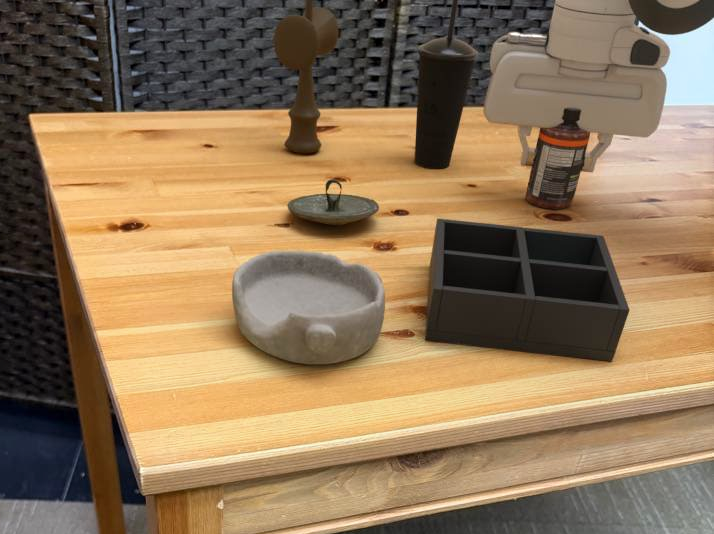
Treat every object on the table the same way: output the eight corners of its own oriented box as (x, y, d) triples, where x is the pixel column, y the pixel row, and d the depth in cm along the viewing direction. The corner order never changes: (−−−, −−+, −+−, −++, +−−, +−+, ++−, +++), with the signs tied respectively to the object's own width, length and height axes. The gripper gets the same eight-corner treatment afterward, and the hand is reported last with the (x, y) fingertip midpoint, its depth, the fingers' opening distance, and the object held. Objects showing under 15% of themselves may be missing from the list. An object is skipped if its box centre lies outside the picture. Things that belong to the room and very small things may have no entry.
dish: (339, 387, 67) (344, 332, 64) (200, 340, 72) (198, 286, 68) (410, 320, 77) (417, 269, 73) (283, 282, 81) (285, 233, 78)
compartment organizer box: (589, 282, 85) (603, 235, 82) (612, 361, 73) (629, 309, 69) (429, 265, 86) (437, 218, 83) (425, 340, 74) (433, 288, 71)
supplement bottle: (530, 190, 106) (552, 94, 98) (576, 199, 104) (602, 102, 97) (518, 204, 102) (540, 104, 94) (565, 214, 100) (592, 113, 92)
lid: (333, 257, 90) (348, 216, 86) (267, 211, 92) (278, 169, 89) (384, 235, 97) (399, 195, 93) (321, 192, 99) (333, 152, 96)
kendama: (269, 156, 110) (273, -21, 97) (294, 137, 117) (301, -30, 104) (311, 163, 109) (320, -15, 96) (334, 144, 116) (345, -25, 103)
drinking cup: (411, 151, 116) (433, -18, 102) (464, 159, 114) (493, -11, 101) (397, 166, 110) (419, -10, 97) (453, 175, 108) (482, -3, 95)
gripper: (495, 35, 89) (472, 167, 98) (685, 52, 88) (643, 184, 97) (493, 24, 94) (471, 151, 103) (674, 40, 93) (635, 167, 102)
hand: (556, 167), depth 100 cm, fingers closed on supplement bottle, 6 cm apart
